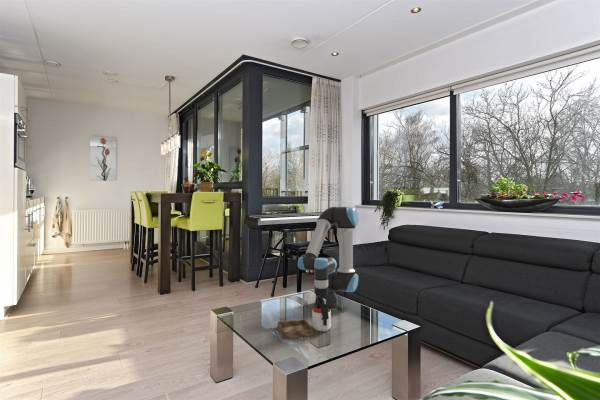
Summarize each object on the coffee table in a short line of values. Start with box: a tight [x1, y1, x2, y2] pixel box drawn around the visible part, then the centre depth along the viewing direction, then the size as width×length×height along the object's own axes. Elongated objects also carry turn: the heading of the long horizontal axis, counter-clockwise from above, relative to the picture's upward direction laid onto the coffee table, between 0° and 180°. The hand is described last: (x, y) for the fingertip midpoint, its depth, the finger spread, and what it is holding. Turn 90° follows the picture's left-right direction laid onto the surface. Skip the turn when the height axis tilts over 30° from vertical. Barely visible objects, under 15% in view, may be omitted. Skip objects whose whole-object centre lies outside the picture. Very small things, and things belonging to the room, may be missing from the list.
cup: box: [311, 307, 332, 332], centre depth 194 cm, size 10×10×10 cm
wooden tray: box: [277, 318, 314, 340], centre depth 190 cm, size 16×16×3 cm
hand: (321, 327), depth 194 cm, fingers closed on cup, 10 cm apart
